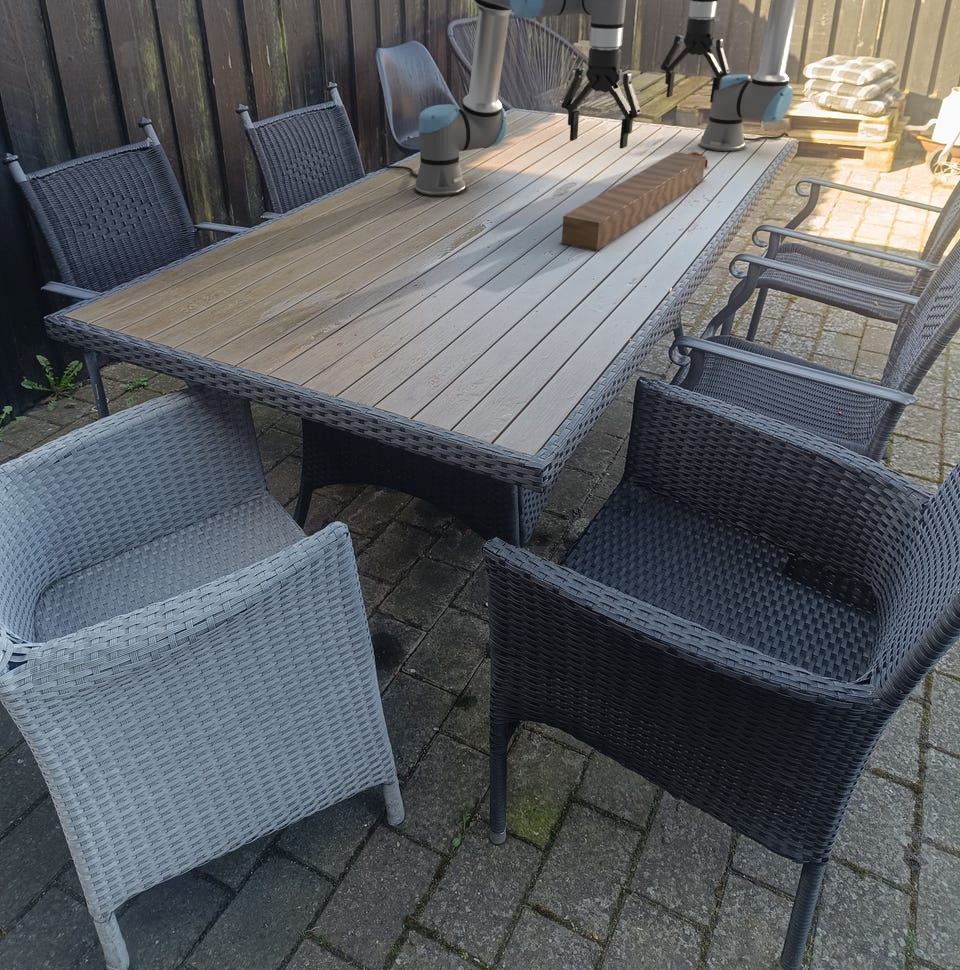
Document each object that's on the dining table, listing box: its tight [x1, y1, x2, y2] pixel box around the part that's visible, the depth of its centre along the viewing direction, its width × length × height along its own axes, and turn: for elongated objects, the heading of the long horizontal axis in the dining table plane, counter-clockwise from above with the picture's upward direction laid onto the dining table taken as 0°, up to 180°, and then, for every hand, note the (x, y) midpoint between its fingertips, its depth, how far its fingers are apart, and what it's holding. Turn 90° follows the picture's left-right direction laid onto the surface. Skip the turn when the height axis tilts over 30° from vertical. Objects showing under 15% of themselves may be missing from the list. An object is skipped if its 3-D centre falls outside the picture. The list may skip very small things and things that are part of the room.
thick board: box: [561, 151, 707, 252], centre depth 241 cm, size 75×10×7 cm, turn 147°
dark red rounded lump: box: [688, 151, 709, 168], centre depth 279 cm, size 6×4×8 cm
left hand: (598, 143), depth 208 cm, fingers open, 13 cm apart
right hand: (690, 99), depth 250 cm, fingers open, 13 cm apart
